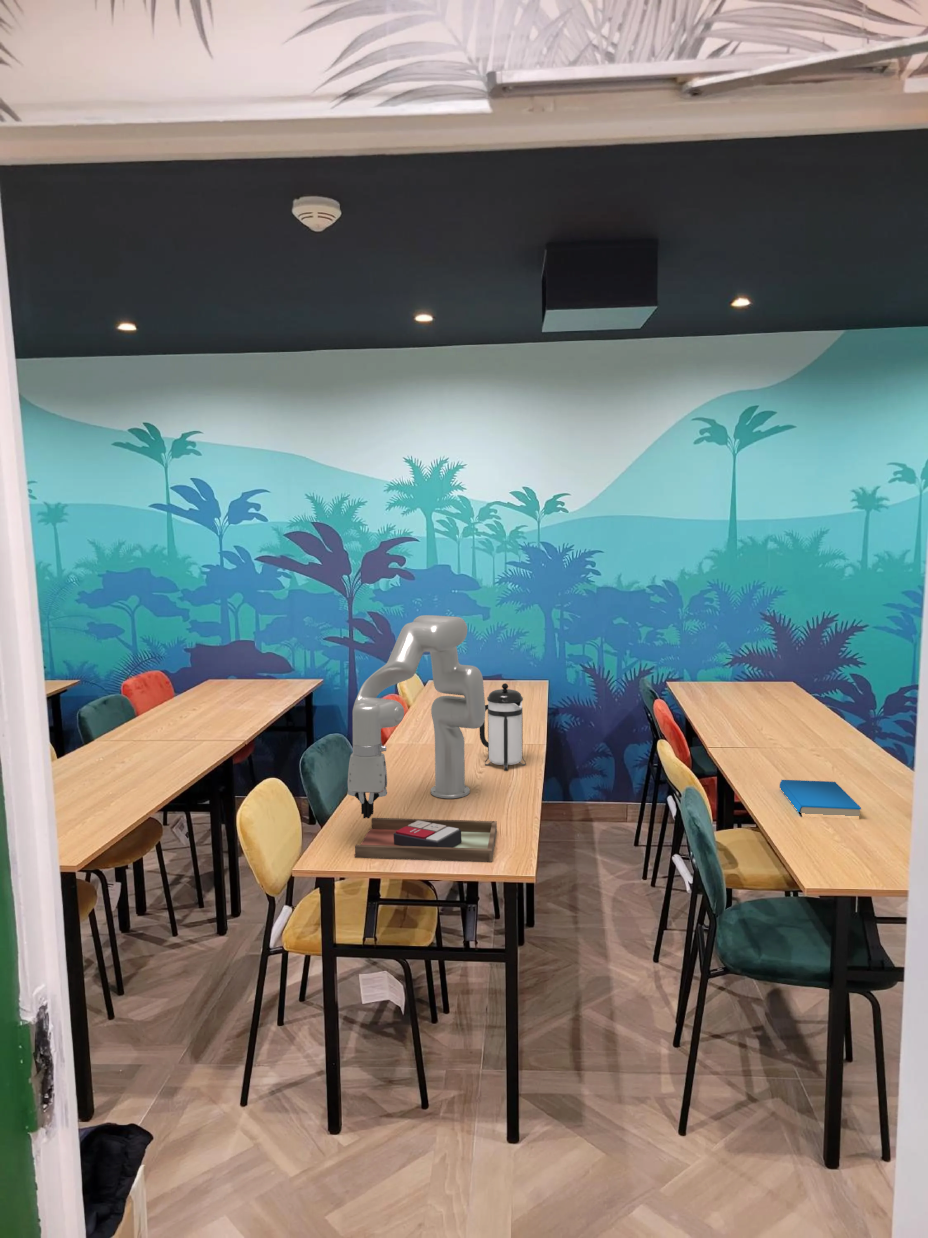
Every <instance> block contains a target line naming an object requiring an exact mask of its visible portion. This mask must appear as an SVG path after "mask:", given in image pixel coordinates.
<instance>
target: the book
mask: <svg viewBox="0 0 928 1238" xmlns="http://www.w3.org/2000/svg"><path fill="white" fill-rule="evenodd" d="M780 788H781V790H782V791H783V792H784V794H785V795H786V796H787V797H788V799H789V800H790V801H791V803H792V804H793V805H794V807H795V808H796V809H797V811H798V812H800V813H801V814H802V813H805V814H823V815H845V816H860V817H861V814H860V813H861V810H862V807H860V805H859V804H858V803H857V802H856V801H855V800H854V799H853V798H852V797H851V796H850V795H849V794H848V793H847V792H846V791H845V790H844V789H843V788H842V787H841V786H840V785H839V784H838V783H837V782H836V781H827V780H825V781H823V780H822V781H821V780H802V779H801V780H800V779H799V780H798V779H797V780H796V779H781V781H780V782H779V789H780ZM782 791H781V792H782ZM783 792H782V793H783ZM784 794H783V795H784ZM785 795H784V796H785ZM786 796H785V797H786ZM788 799H787V800H788ZM789 800H788V801H789ZM791 803H790V804H791ZM792 804H791V805H792ZM794 807H793V808H794ZM795 808H794V809H795ZM797 811H796V812H797ZM798 812H797V813H798Z"/></svg>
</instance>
